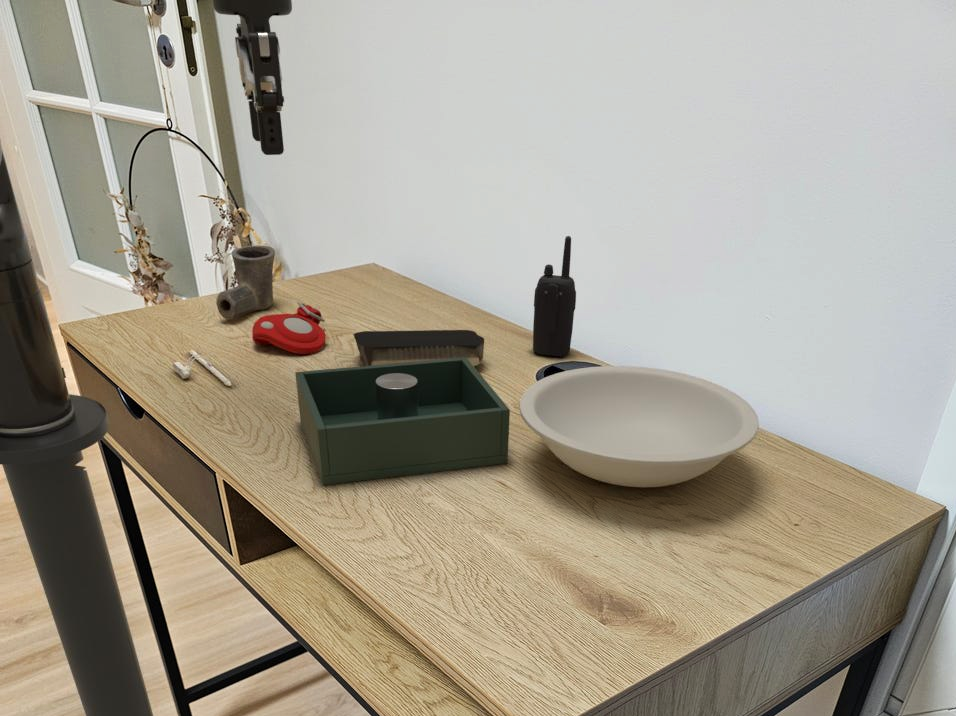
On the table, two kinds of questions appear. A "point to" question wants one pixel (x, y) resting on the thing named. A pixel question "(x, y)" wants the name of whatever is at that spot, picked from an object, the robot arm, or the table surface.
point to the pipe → (249, 282)
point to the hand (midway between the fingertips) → (268, 147)
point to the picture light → (185, 370)
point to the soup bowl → (637, 423)
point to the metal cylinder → (396, 396)
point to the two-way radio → (554, 309)
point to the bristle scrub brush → (418, 346)
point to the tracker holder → (291, 330)
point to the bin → (401, 421)
